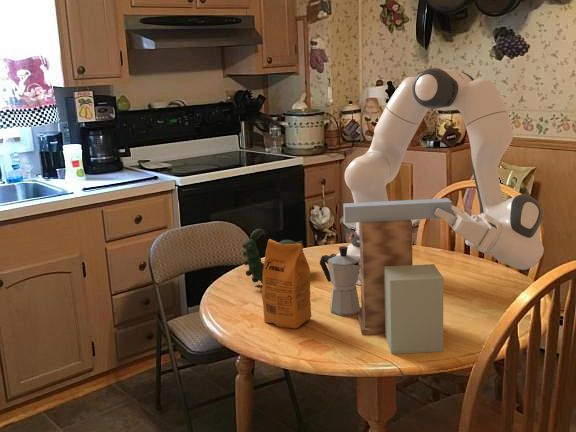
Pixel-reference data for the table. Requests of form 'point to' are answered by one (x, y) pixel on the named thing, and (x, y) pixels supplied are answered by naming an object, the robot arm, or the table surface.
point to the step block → (413, 308)
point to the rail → (394, 210)
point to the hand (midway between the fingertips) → (432, 206)
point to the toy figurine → (254, 258)
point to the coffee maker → (342, 281)
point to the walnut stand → (380, 266)
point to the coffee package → (286, 285)
